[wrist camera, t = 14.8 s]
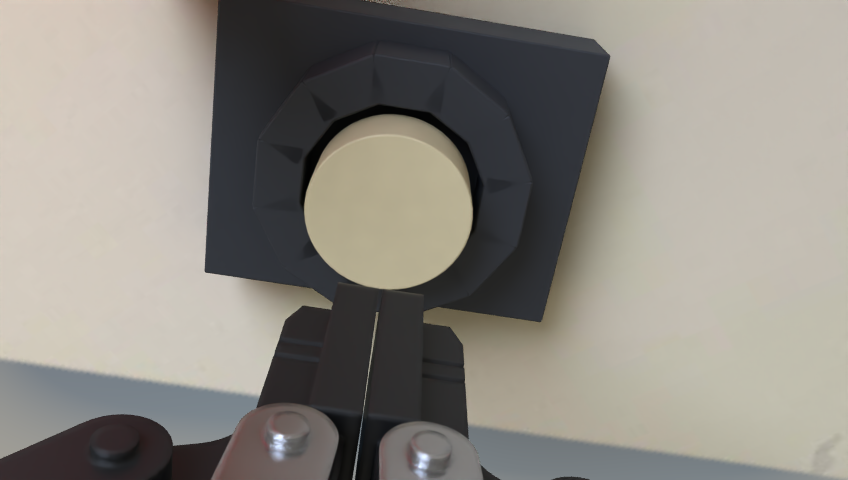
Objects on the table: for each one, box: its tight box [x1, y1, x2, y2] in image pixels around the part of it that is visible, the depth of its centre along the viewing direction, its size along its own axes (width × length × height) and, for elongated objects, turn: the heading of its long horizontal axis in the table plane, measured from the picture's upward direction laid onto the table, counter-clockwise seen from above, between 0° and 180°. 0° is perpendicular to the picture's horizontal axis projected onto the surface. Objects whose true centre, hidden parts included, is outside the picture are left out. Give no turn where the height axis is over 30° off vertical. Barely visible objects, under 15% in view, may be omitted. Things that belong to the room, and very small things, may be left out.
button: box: [304, 114, 473, 290], centre depth 19 cm, size 4×4×2 cm
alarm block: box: [205, 0, 610, 322], centre depth 22 cm, size 10×8×4 cm
